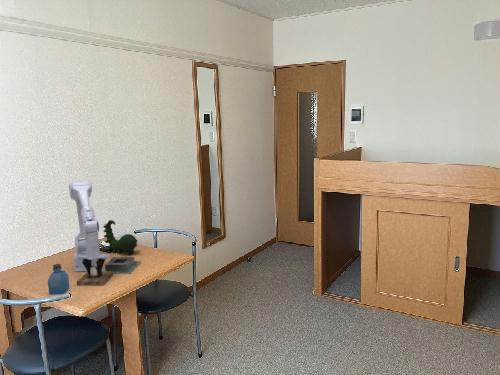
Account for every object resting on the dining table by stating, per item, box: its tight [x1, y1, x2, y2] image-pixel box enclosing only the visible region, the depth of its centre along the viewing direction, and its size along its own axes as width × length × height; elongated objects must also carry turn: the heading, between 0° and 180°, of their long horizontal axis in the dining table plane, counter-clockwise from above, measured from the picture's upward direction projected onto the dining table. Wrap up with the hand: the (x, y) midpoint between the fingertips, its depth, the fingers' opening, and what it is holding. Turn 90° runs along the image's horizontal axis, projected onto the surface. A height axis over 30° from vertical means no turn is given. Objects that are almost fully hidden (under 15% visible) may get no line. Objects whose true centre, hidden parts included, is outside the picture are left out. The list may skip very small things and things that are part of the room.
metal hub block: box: [102, 256, 142, 275], centre depth 207 cm, size 16×16×4 cm
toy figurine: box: [102, 219, 138, 256], centre depth 230 cm, size 9×19×25 cm
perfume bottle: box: [47, 263, 70, 295], centre depth 180 cm, size 6×6×12 cm
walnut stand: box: [76, 271, 114, 286], centre depth 192 cm, size 12×12×2 cm
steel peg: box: [90, 264, 100, 279], centre depth 192 cm, size 4×4×7 cm
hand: (95, 274), depth 192 cm, fingers closed on steel peg, 4 cm apart
